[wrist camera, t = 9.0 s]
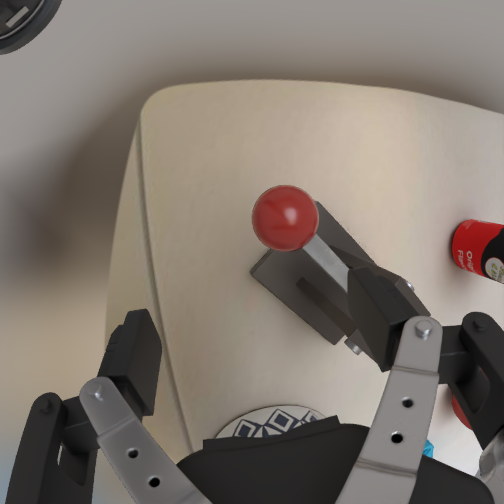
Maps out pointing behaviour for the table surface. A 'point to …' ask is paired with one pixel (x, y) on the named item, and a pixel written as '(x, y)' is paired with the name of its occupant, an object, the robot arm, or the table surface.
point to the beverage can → (480, 248)
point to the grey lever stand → (325, 284)
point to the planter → (270, 422)
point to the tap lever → (295, 228)
